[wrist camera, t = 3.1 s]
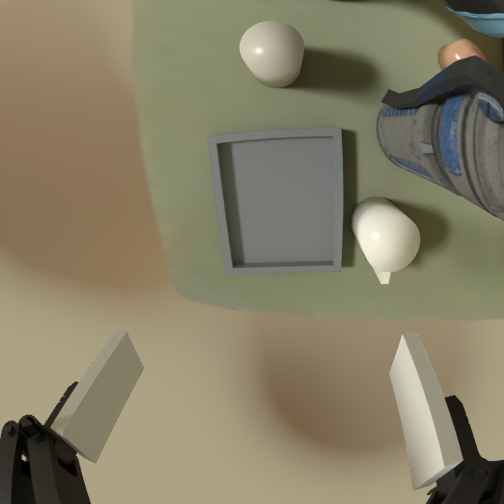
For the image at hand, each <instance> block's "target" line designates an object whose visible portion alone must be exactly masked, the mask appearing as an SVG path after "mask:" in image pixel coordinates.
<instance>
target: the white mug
mask: <svg viewBox="0 0 504 504" xmlns="http://www.w3.org/2000/svg"><path fill="white" fill-rule="evenodd" d="M351 228H352V231H353V233H354V235H355V237H356V239H357V241H358V243H359V244H360V246H361V248H362V250H363V252H364V254H365V256H366V258H367V260H368V261H369V263H370V264H371V265H372V266H373V268H374V270H375V272H376V274H377V276H378V278H379V280H380V282H381V284H389V278H390V272H395V271H398V270H401V269H403V268H404V267H406V266H407V265H408V264H410V263H411V262H412V260H413V259H414V258H415V256H416V254H417V252H418V249H419V246H420V234H419V230H418V228H417V226H416V225H415V223H414V222H413V221H412V220H411V219H409V218H408V217H407V216H406V215H405V214H404V213H403V212H401V211H400V210H399V209H398V208H397V207H396V206H394V205H393V204H392V203H391V202H390V201H388V200H387V199H385V198H382V197H369V198H366V199H364V200H363V201H361V202H360V203H359V204H358V205H357V206H356V208H355V209H354V211H353V213H352V217H351Z"/></svg>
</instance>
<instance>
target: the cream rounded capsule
mask: <svg viewBox="0 0 504 504" xmlns="http://www.w3.org/2000/svg"><path fill="white" fill-rule="evenodd" d="M240 53H241V56H242V58H243V60H244V61H245V63H246V64H247V66H248V67H249V69H250V70H251V71H252V73H253V74H254V76H255V77H256V79H257V80H258V81H259V82H260V83H262V84H263V85H266V86H268V87H272V88H282V87H286V86H288V85H290V84H292V83H293V82H294V81H295V80H296V79H297V78H298V76H299V74H300V70H301V65H302V59H303V54H304V42H303V39H302V37H301V36H300V34H299V33H298V32H297V31H296V30H295V29H294V28H293V27H291V26H290V25H288V24H285V23H282V22H278V21H265V22H261V23H258V24H256V25H254V26H252V27H251V28H249V29H248V30H247V31H246V32H245V33H244V35H243V37H242V39H241V42H240Z"/></svg>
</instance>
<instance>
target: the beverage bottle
mask: <svg viewBox="0 0 504 504" xmlns="http://www.w3.org/2000/svg"><path fill="white" fill-rule="evenodd" d="M381 102H383V103H385V104H384V105H383V106H382V108H381V110H380V112H379V114H378V118H377V123H376V132H377V138H378V142H379V144H380V147H381V149H382V151H383V152H384V154H385V155H386V157H387V158H388V159H389V160H390V161H391V162H392V163H394V164H395V165H397V166H398V167H400V168H402V169H405V170H407V171H409V172H412V173H414V174H416V175H418V176H420V177H422V178H425V179H427V180H429V181H431V182H433V183H435V184H437V185H439V186H441V187H443V188H445V189H447V190H449V191H451V192H453V193H455V194H457V195H459V196H463V197H464V198H465V199H466V200H468V201H470V202H472V203H473V204H475V205H477V206H478V207H480V208H482V209H484V210H485V211H487V212H489V213H490V214H492V215H493V216H495V217H498V218H500V219H502V220H503V221H504V73H502V72H501V71H500V70H498V69H497V68H495V67H494V66H492V65H491V64H489V63H488V62H486V61H485V60H483V59H482V58H480V57H478V56H476V55H473V56H470V57H467V58H464V59H460V60H457V61H455V62H453V63H452V64H450V65H449V66H448V67H446V68H445V69H444V70H442V71H441V72H440V73H438V74H437V75H436V76H435V77H433V78H432V79H431V80H429V81H428V82H427V83H425V84H424V85H423V86H421V87H420V88H417V89H414V90H410V91H406V92H403V93H400V94H399V93H397V92H394V91H392V90H389V89H388V92H387V94H386V95H385V97H384V98H383V100H382V101H381Z"/></svg>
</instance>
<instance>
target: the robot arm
mask: <svg viewBox="0 0 504 504" xmlns="http://www.w3.org/2000/svg"><path fill="white" fill-rule="evenodd" d="M439 1H441V2H442V3H443V4H444V6H445V7H446V8H447V9H448V10H450V11H451V12H453V13H455V14H457V15H458V16H459V17H460V18H461V19H462V20H463V21H465V22H466V23H467V24H468V25H469V26H470V27H471V28H472V29H474V30H475V31H477V32H478V33H481V34H484V35H487V36H489V37H495V38H504V0H439ZM143 369H144V366H143V365H142V363H141V361H140V359H139V357H138V355H137V352H136V351H135V348H134V346H133V344H132V342H131V340H130V338H129V335H128V333H127V332H125V331H118V330H115V332H114V333H113V335H112V336H111V337H110V338H109V340H108V341H107V343H106V344H105V345H104V347H103V348H102V350H101V351H100V352H99V354H98V355H97V357H96V358H95V360H94V361H93V362H92V364H91V365H90V367H89V368H88V370H87V371H86V373H85V374H84V376H83V377H82V378H81V380H80V381H79V382H74V383H73V384H72V385H71V386H69V387H68V389H67V390H66V392H65V393H64V395H63V397H62V398H61V399H60V401H59V403H58V404H57V405H56V407H55V409H54V410H53V412H52V413H51V415H50V416H49V418H48V420H47V421H46V423H45V424H44V425H42V424H41V423H40V422H39V421H38V420H37V419H36V418H35V417H34V416H32V415H25V416H23V417H22V418H21V419H20V420H19V422H18V424H17V423H16V422H15V421H9V422H7V423H6V424H5V425H4V427H3V429H2V433H1V438H0V504H91V503H90V500H89V496H88V493H87V490H86V487H85V483H84V480H83V476H82V472H81V468H80V464H79V460H78V458H77V456H76V454H77V452H78V453H79V454H80V455H81V456H82V457H84V458H85V459H88V460H89V461H92V462H94V463H96V462H97V460H98V458H99V456H100V454H101V452H102V450H103V448H104V445H105V443H106V441H107V439H108V437H109V435H110V433H111V431H112V429H113V427H114V425H115V423H116V421H117V419H118V417H119V415H120V413H121V411H122V409H123V407H124V405H125V403H126V402H127V400H128V398H129V396H130V394H131V392H132V390H133V388H134V386H135V384H136V382H137V381H138V379H139V377H140V375H141V373H142V371H143ZM389 375H390V378H391V382H392V386H393V390H394V394H395V397H396V402H397V405H398V410H399V414H400V419H401V423H402V428H403V433H404V438H405V442H406V448H407V454H408V459H409V466H410V472H411V479H412V487H413V490H417V489H420V488H424V487H427V486H429V485H431V484H433V483H434V482H436V483H437V486H436V487H435V488H433V489H431V490H430V491H429V492H428V493H427V495H430V494H431V493H432V494H431V496H430V498H429V499H428V501H427V503H426V504H504V460H499V461H487V460H486V459H484V458H482V457H481V456H480V454H479V452H478V449H477V446H476V443H475V439H474V436H473V433H472V430H471V427H470V424H469V423H468V422H469V421H468V418H467V416H466V412H465V410H464V407H463V404H462V403H461V401H460V400H459V399H458V398H457V397H456V396H455V395H453V396H449V397H446V398H444V396H443V393H442V390H441V388H440V385H439V382H438V380H437V377H436V375H435V372H434V370H433V367H432V365H431V363H430V360H429V358H428V356H427V353H426V351H425V349H424V346H423V344H422V342H421V340H420V338H419V336H418V333H408V334H403V335H402V337H401V341H400V344H399V347H398V350H397V353H396V356H395V359H394V362H393V364H392V367H391V370H390V373H389ZM22 455H24V456H25V457H26V461H24V460H22V459H21V458H22Z"/></svg>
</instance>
